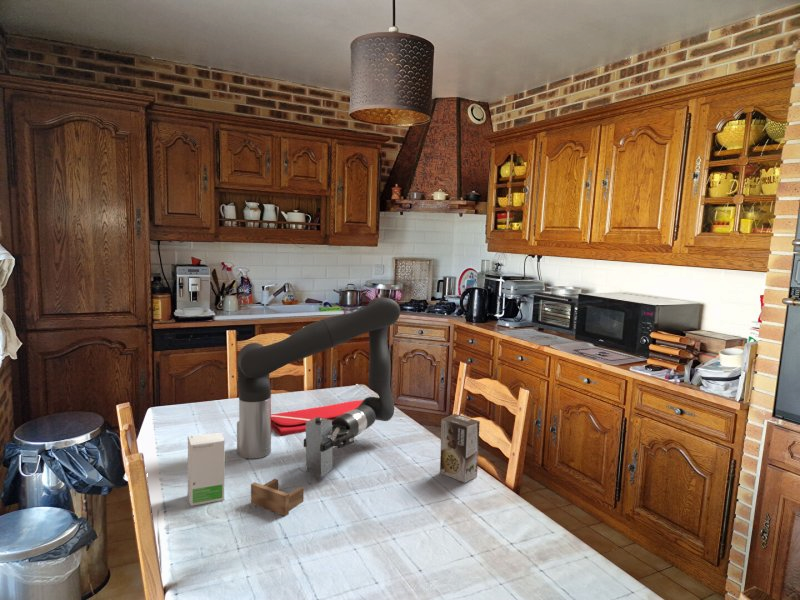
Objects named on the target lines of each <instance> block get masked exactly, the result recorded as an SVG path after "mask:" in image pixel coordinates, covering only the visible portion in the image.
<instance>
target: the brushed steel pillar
mask: <svg viewBox="0 0 800 600" xmlns="http://www.w3.org/2000/svg"><path fill="white" fill-rule="evenodd" d="M331 437H332V420H329V419H324V418H321V417H316V418H314V419H312V420H310V421H308V422H306V431H305V438H306V447H305V460H306V461H305V462H306V465H305V467H306V468H305V470H306V473H309V474H313V475H315V476H319V477H322V476H324V475H325V474H327V473H328V472H330V471H331V470H332V469H333V448H330V449H328V450H326V451H324V452H321V451H320V444H321V443H323V442H325V441H326V440H328V439H330V438H331Z"/></svg>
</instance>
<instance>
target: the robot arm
mask: <svg viewBox="0 0 800 600" xmlns="http://www.w3.org/2000/svg"><path fill="white" fill-rule="evenodd" d="M400 315H401V307H400V305H399V304H398V303H397V301H395V300H394V299H392V298H390V297H375V298H373V299H371V300H370V301H369V302H368V304H367V306H365V307H363V308H361V309H359V310H356V311H353V312H349V313H344V314H338V315H333V316H330V317H326V318H325V317H324V318H323V319H320V320H318V321H317V320H316V321H315V322H311V323H309V324H307V325H305V326H303V327H302V328H300V329H298V330H297V331H296V332H294V333H292V334H291V335H289V336H288V337H286V338H284V339H282V340H280V341H277V342H274V343H271V344H268V345H263V344H261V343H258V342H249V343H247V344H245V345H244V346H242V348H241V349H240V350H239V351H238V355H237V387H238V418H239V419H238V421H237V422H236V452H237V453H238V454H239V455H240V457H242V458H244V459H261V458H263V457H267V456H268V455H269V454H271V452H272V428H271V414H272V397H271V396H272V388H271V381H270V374H271V373H274V372H275V371H277V370H279V369H281V368H282V367H285V366H286V365H289V364H292V363H293V362H296V361H300V360H302V359H306V358H308V357H310V356H313V355H316V354H319V353H322V352H325V351H327V350H329V349H333V348H335V347H337V346H339V345H342V344H343V343H346V342H348V341H351V340H352V339H354V338H357V337H358V336H361V335H364V334H367V333H368V341H369V343H368V344H369V345H368V347H369V356H368V357H369V359H368V361H369V362H368V381H367V382H368V389H369V390H370V391H373V392H375V393H376V394H378V397H376V396H368V397H365V398H364V399H362V400H363V402H362V403H361V404H360V405H359V407H357V408H355V409H353V410H351V411H348V412H346V413H344V414H342V415H340V416H338V417H336V418H335V419H333V420H332V437H331V438H330V439H328V440H326V441H325V442H323V443H321V444H320V451H321V452H324V451H326V450H328V449H330V448H332V449H334V448H337V449H342V448H344V447H347V446H350V445H353V444H354V443H355V440H356V439H355V438H356V437H357V436H358V435H360V434H361V433H363V431H365V430H367V429H369V428H370V427H371V426H373V424H374V423H375V422H376V421H381V422H388V421H390V420H391V419H392V418H393V416H394V413H395V401H394V397H393V394H392V389H391V358H390V356H391V355H390V352H389V351H390V350H389V345H388V330H389V327H390V326H393V325H394V324H395V323H396V322H397V321H398V320H399V318H400ZM303 447H304V448H306V437H305V438H304V439H303Z"/></svg>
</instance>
